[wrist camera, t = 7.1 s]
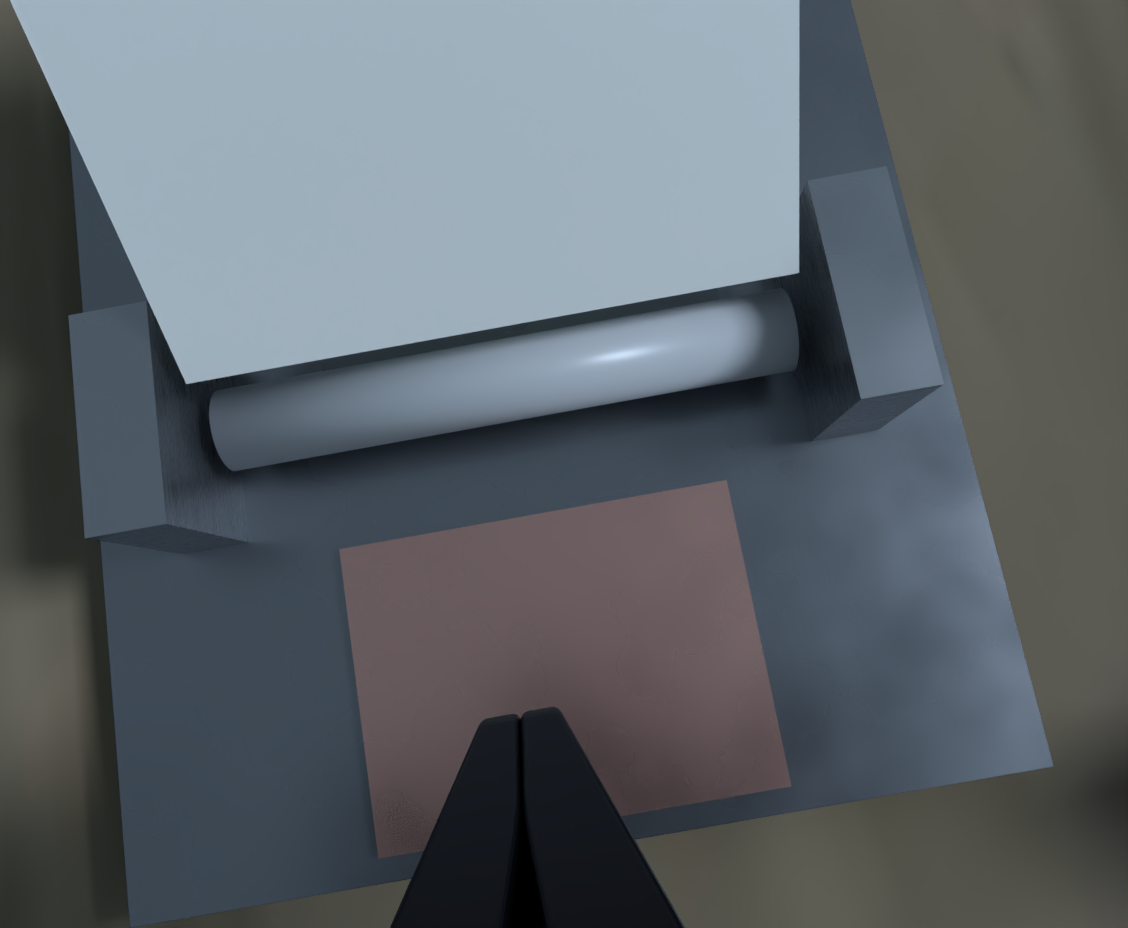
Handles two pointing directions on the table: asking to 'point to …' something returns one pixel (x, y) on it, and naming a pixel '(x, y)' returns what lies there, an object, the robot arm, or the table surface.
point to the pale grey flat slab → (439, 198)
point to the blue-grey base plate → (553, 571)
